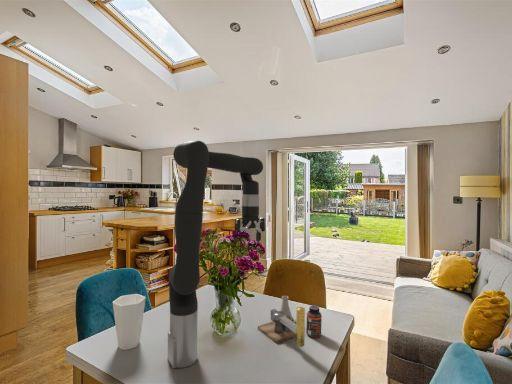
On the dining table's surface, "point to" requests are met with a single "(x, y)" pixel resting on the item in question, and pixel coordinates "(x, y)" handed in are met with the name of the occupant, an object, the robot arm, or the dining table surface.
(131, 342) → the cup
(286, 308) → the flask
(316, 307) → the supplement bottle
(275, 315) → the lever
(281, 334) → the base
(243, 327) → the dining table surface
